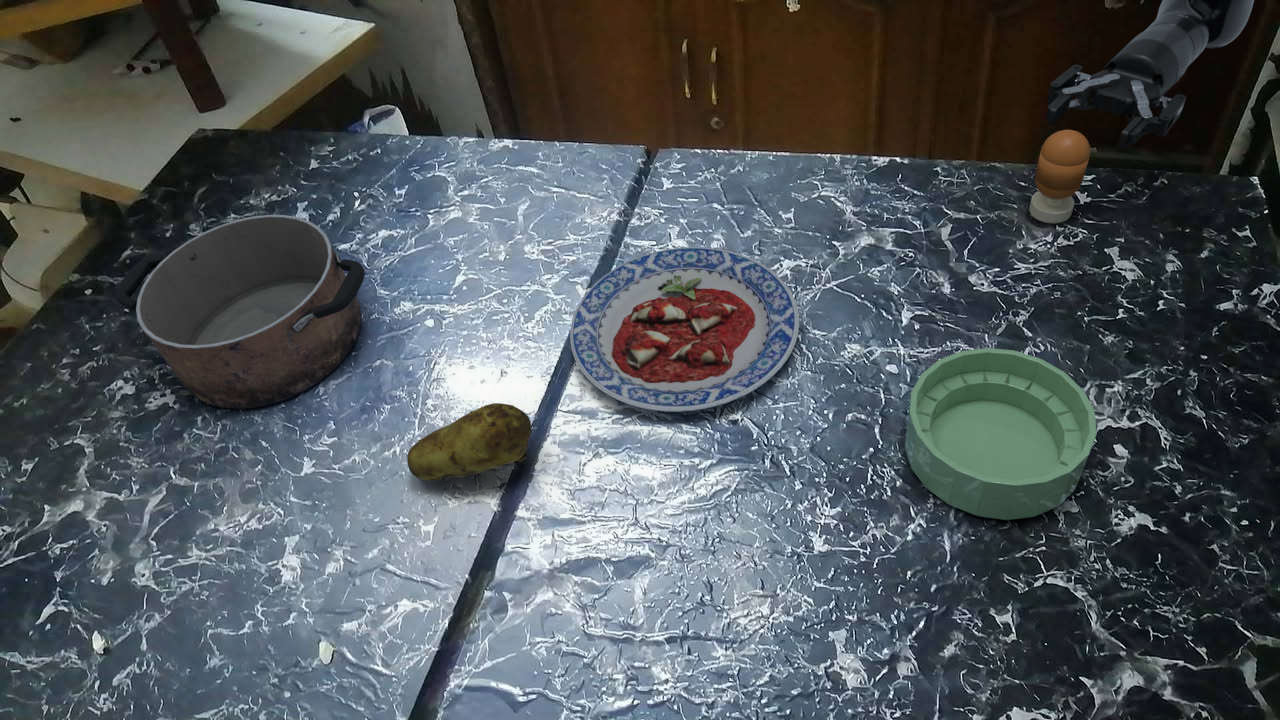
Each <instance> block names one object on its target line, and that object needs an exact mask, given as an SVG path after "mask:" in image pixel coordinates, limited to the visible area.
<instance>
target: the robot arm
mask: <svg viewBox="0 0 1280 720" xmlns="http://www.w3.org/2000/svg"><path fill="white" fill-rule="evenodd" d="M1254 3H1255V0H1162V1H1161V3H1160V4H1159V5H1160V6H1159V7H1158V11H1157V14H1156V18H1155V19H1154V21H1153V22H1152V23H1151V24H1150V25H1149V26H1148V27H1147V28H1146V29H1144V31H1142V32H1140V33H1139V34H1138V35H1136V36H1135V37H1134V38H1133V39H1131V41H1129V42H1128V43H1127V45H1125V46H1124V47H1123V48H1122V49H1121V50H1120V51H1119V52H1118V53H1117V54H1116V55H1115V56H1114V57H1113V58H1112V59H1110V60H1109V61H1108V63H1106V65H1105V66H1104V68H1103V69H1102V70H1101V71H1099V72H1096V73H1094V74H1092V75H1090V74H1087V73H1084V72H1082V70H1083V66H1082V65H1080V64H1073V65H1071V66H1070V67H1069V68H1068V69H1066V70H1065V71H1064V72H1063V73H1061V74H1060V75H1059V76H1058V77H1056V78H1055V79H1054V80H1053V81H1052V82H1050V85H1049V89H1048V94H1047V99H1046V103H1047V104H1048V106H1047V111H1046V114H1045V119H1046V120H1047V121H1046V123H1047V124H1048V125H1052V126H1054V125H1055V124H1057V122H1058V121H1060V119H1062V117H1063V116H1065V115H1066V114H1067V113H1068V111H1073V110H1077V109H1078V110H1079V111H1081V112H1084V111H1089V110H1095V109H1097V110H1101V111H1104V112H1105V111H1106V112H1110V113H1112V114H1114V115H1117V116H1120V117H1121V116H1125V118H1126V120H1127V122H1128V125H1126V126H1125V128H1123V130H1122V131H1121V133H1120V136H1119V139H1118V141H1117V142H1118V143H1117V147H1119V148H1122V149H1126V147H1127V146H1134V145H1135V144H1136V143H1137V142H1138V141H1139V140H1140V139H1141V138H1142V137H1143V136H1145V135H1147V134H1152V135H1153V137H1155V138H1158V139H1162V138H1164V137H1165V136H1166V135H1167V134H1168V132H1169V131H1170V130H1171V128H1172V127H1173V125H1175V123H1176V122H1177V121H1178V119H1179V118H1180V116H1181V114H1182V110H1183V109H1184V105H1185V102H1186V99H1187V96H1186V95H1185V94H1181V93H1178V94H1177V93H1176V94H1175V95H1174V96H1173V98H1172V97H1167V96H1164V95H1166V93H1167V92H1168V91H1169V90H1171V88H1172V87H1173V86H1174V85H1176V84H1177V83H1178V82H1179V81H1180V80H1181V78H1182V76H1183V75H1184V74H1185V72H1186V70H1187V69H1188V67H1189V66H1190V65H1191V64H1192V63H1193V62H1194V61H1195V60H1196V59H1197V58H1198V57H1200V55H1201V54H1202V52H1203V51H1205V48H1207V49H1218V48H1222V47H1224V46H1227V45H1228V44H1230V43H1232V42H1233V41H1234V40H1235V39H1236V38H1238V36H1239V35H1240V34H1241V33H1242V31H1243V30H1244V28H1245V27H1246V25H1247V23H1248V21H1249V18H1250V16H1251V13H1252V10H1253V6H1254ZM1075 96H1076V97H1075ZM1072 97H1075V99H1072ZM1089 98H1090V99H1089ZM1157 108H1159V109H1160V111H1159V112H1160V114H1159V116H1153V112H1152V111H1153V110H1155V109H1157Z"/></svg>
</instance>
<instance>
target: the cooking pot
mask: <svg viewBox="0 0 1280 720" xmlns="http://www.w3.org/2000/svg"><path fill="white" fill-rule="evenodd" d="M151 270H152V271H151ZM345 272H347V273H345ZM365 275H366V271H365V269H364V267H363V265H362V264H361V263H360V262H358V261H357V260H352V259H346V258H343V259H341V256H340V254H338V252H335V250H334V247H333V245H332V244H331V242H330V239H329V237H328V235H327V234H326V233H325V232H324V230H323V229H322V228H321V227H319V225H317V224H315V223H313V222H311V221H310V220H307V219H304V218H301V217H298V216H292V215H286V214H265V215H264V214H263V215H256V216H249V217H244V218H240V219H236V220H233V221H230V222H226V223H223V224H220V225H218V226H215V227H213V228H211V229H208V230H206V231H204V232H202V233H200V234H198V235H197V236H194V237H193V238H191V239H189V240H187V241H186V242H185V243H183V244H181V245H180V246H178V247H177V248H176V249H174V250H173V251H172V252H171V253H169V254H163V255H162V254H161V255H151V256H148V257H145V258H143V259H141V260H140V261H138V262H137V263H136V264H135V265H134V266H133V267H132V268H131V269H130V270H129V271H128V273H126V275H125V276H124V278H123V279H122V280H121V282H119V284H118V286H117V288H116V290H115V293H114V296H115V300H116V301H117V302H118V303H119V304H120V305H122V306H123V307H125V308H127V309H129V310H130V311H133V312H135V313H136V319H137V322H138V324H139V325H140V327H141V329H142V330H143V332H144V333H145V335H146V337H148V339H149V341H151V343H152V344H153V346H154V347H155V348H156V350H157V352H158V353H159V354H160V356H161V357H162V358H163V360H164V361H165V362H166V364H167V365H168V366H169V368H170V369H171V371H172V372H173V373H174V374H175V376H176V377H177V379H178V381H180V383H181V384H182V385H183V387H184V388H185V389H186V390H187V391H188V392H189V393H190V394H191V395H192V396H194V398H196V399H197V400H198V401H199V400H200V401H201V402H203V403H205V404H207V405H211V406H215V407H219V408H223V409H225V408H226V409H241V410H242V409H243V410H244V409H251V408H252V409H254V408H261V407H266V406H269V405H273V404H277V403H280V402H282V401H285V400H288V399H290V398H293V397H295V396H297V395H299V394H301V393H303V392H306V391H307V390H309V389H310V388H312V387H314V386H315V385H317V384H318V383H319V382H321V381H322V380H324V379H325V378H326V377H327V376H328V375H330V373H332V372H333V371H334V370H336V369H337V367H338V366H339V365H340V364H341V363H342V361H344V360H345V358H346V357H347V356H348V354H349V352H350V351H351V349H352V348H353V346H354V344H355V343H356V340H357V338H358V335H359V333H360V330H361V323H362V312H361V306H360V302H359V301H358V298H357V294H358V292H359V291H360V289H361V286H362V284H363V282H364V279H365ZM146 277H147V278H146ZM145 279H146V280H145ZM144 280H145V281H144ZM143 281H144V283H143V284H142V282H143ZM141 284H142V286H141V288H140V291H139V294H138V296H137V299H134V298H131V297H132V296H133V295H134V294H135V292H136V291H137V289H138V288H139V287H140V285H141Z"/></svg>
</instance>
